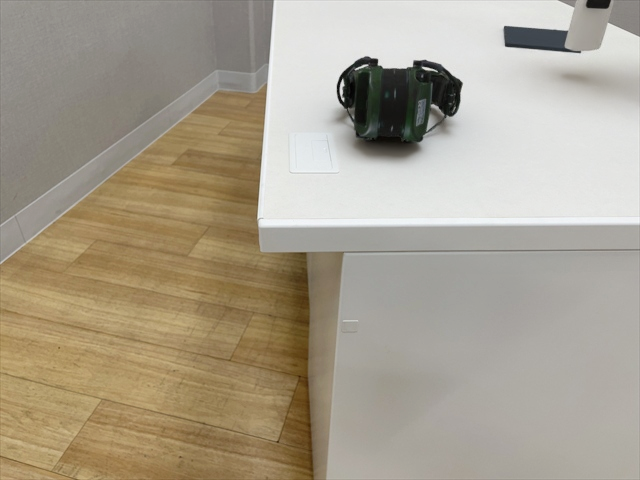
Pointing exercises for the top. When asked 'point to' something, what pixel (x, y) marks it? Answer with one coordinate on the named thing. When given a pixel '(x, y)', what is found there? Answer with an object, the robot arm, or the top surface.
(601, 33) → the eye dropper bottle
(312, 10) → the top surface
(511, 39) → the slate mat
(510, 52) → the top surface
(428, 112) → the headphones
